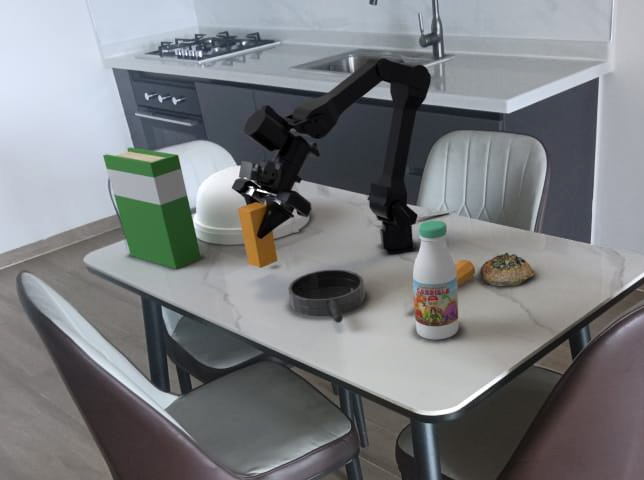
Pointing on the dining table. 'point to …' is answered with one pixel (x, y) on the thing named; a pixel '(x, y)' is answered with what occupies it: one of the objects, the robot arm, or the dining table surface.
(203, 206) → the dome cover
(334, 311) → the pan handle
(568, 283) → the dining table surface
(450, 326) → the milk bottle
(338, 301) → the pan
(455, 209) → the fork
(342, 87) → the robot arm
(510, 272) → the bread roll
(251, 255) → the cheese
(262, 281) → the dining table surface
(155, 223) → the hardback book
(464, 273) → the carrot
